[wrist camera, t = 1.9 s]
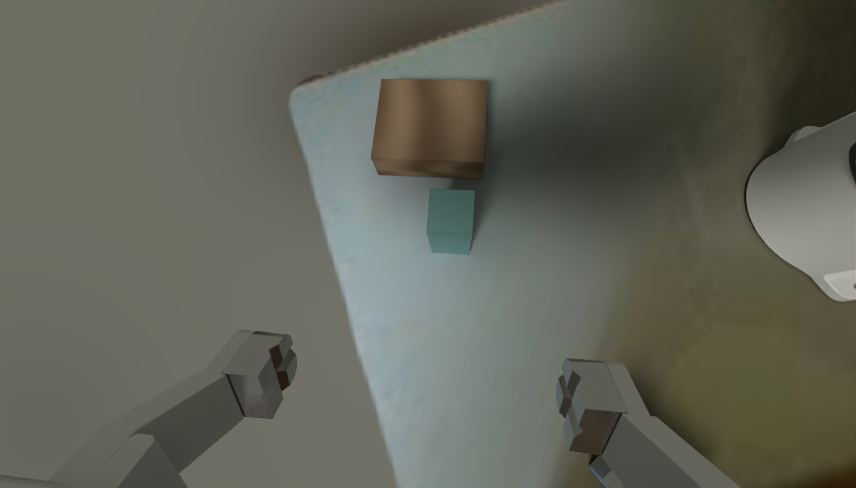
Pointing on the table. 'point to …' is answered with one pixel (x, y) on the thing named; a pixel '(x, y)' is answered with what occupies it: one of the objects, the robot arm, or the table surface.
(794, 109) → the table surface
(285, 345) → the robot arm
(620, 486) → the label tape box
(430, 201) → the teal column
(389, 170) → the walnut block
